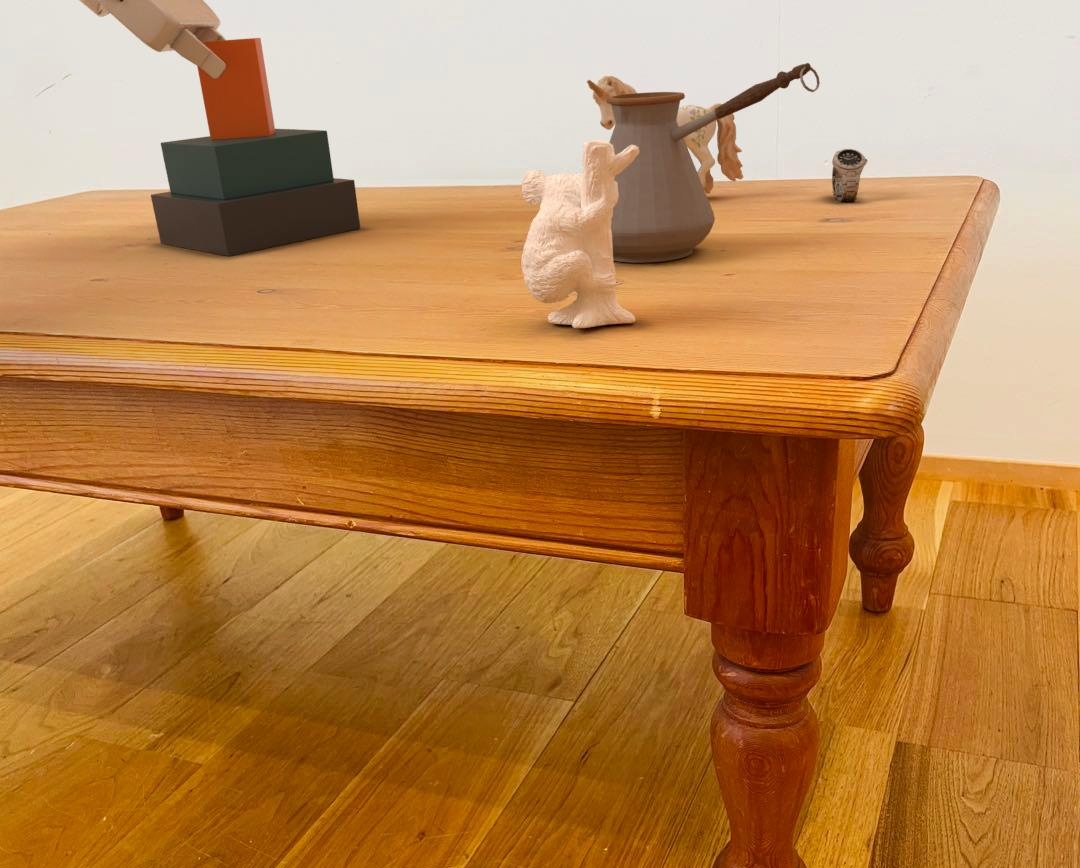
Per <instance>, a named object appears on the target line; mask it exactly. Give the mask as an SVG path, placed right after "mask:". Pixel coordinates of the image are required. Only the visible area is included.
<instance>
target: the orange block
mask: <svg viewBox="0 0 1080 868" xmlns="http://www.w3.org/2000/svg"><path fill="white" fill-rule="evenodd" d="M202 43H203V44H204V45H205V46H206V47H208V48H209V49H210V50H211V51H212V52H215V53H216V54H217V55H219V56H220V57H221V58H222V59H223V60H224V61H226V62H227V65H228V68H227V70H226V71H225V72H224V74H223V75H222V77H220V78H216V79H215V78H212V77H211V76H210V75H209V74H207V73H206V72H205V71H204V70H203V69H201V68H200V67H198V66H197V65H196V66H197V72H198V78H199V82H200V83H199V84H200V89H201V93H202V94H201V95H202V100H203V106H204V111H205V116H206V122H207V127H208V132H209V136H210V138H211V140H223V139H237V138H250V137H264V136H271V135H273V134H274V133H275V129H276V127H275V121H274V115H273V109H272V102H271V101H272V100H271V95H270V89H269V83H268V76H267V71H266V70H267V69H266V64H265V58H264V52H263V45H262V38H261V37H252V38H250V37H249V38H237V39H226V40H221V41H206V42H202Z"/></svg>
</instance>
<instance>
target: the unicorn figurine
mask: <svg viewBox="0 0 1080 868" xmlns="http://www.w3.org/2000/svg"><path fill="white" fill-rule="evenodd" d="M586 83H587V86H588V88H589V89H590V90H592V92H593V93H592V98H593V100H594V102H595V104H596V105H597V106H598V107H599V111H600V117H601V119H600V121H599V124H600V125H601V127H603V128H604V129H606V130H612V129H613V128H614V127H615V118H614V114H613V110H612V106H611V104H609V103H607V101H606V100H607V98H608V97H612V96H617V95H625V94H635V93H638V92H637V90H636V89H635V88H634V87H633V86H631V85H630V84H628V83H625V82H623V80H621V79H619V78H618V77H616V76H613V75H609V76H606V75H604V76H603V77H601V78H600V79H598V80H597V83H595V82H594V81H592V80H591V79H587V80H586ZM722 104H723V103H721V102H719V103H714V104H713V105H711V106H709V107H707V108H705V107H703V106H698V105H694V104H692V105H691V104H688V105H683V106H679V109H678V114H677V123H678V126H679V127H680V126H682V125H684V124H686V123H688V122H690V121H693V120H695V119H697V118H699V117H701V116H703V115H705V114H707V113H709V112H711V111H713V110H715V108H717V107H719V106H720V105H722ZM734 120H735V115H734V113H732V114H730V115H728V116H726V117H723V118H721V119H717V120H715V121H713V122H712V123H710V124H708V125H706V126H704V127H702V128H701V129H699V130H697V131H695V132H693V133H692V134H690V135H688V136H686V137H684V141H685V143H686V146H687V148H688V150H689V152H690V153H692V155H693V156H694V157H695V158H696V159H697V161H698V162H699V163H700V166H699V168H698V170H697V173H698V176H699V178H700V180H701V183H702V185H703V188H704V190H705V193H706V195H708V194H710V193H711V191H712V190H713V188H714V177H713V175H712V173H711V169H712V168H713V167H714V166H715V165H716V161H717V163H718V165H719V166H720V170H721V173H722V174H723V175H724V176H725V177H726V178H727V179H728V180H730V181H732V182H736V181H737V180H743V179H744V174H743V171H742V169H741V168H743V166H744V165H743V164H742V162H741V161H740V159H739V156H738V153H742V152H743V150H742V149H741V148H740V146H738V145H737V144H736V140H737V126H736V123H735V121H734ZM716 129H717V132H716ZM715 133H717V134H716V142H717V144H716V145H717V151H718V153H717V157H716V159H717V160H716V159H715V158H714V157H713V155H712V153H711V151H710V149H709V143H710V141H711V140H712V139H713V138H714V135H715Z"/></svg>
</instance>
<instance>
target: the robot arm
mask: <svg viewBox="0 0 1080 868" xmlns="http://www.w3.org/2000/svg"><path fill="white" fill-rule="evenodd" d="M78 1H79V2H81V3H82V4H83V5H84V6H85V7H87V8H88V9H89V10H90V11H91V12H92V13H94V14H95V15H96V16H97V17H99V18H104V17H106V16H108V15H111V16H113V18H115V19H116V20H117V21H118V22H119V23H120V24H121V25H123V26H124V27H125V28H126V29H127V30H128V31H129V32H130V33H132V34H133V35H134V36H135V37H136V38H137V39H138V40H139V41H140V42H142V43H143V44H144V45H146V46H147V47H149V48H150V49H151V50H153V51H155V52H157V53H162V52H163V53H164V52H172V51H174V52H176V53H177V54H178V55H179V56H180V57H182V58H184V59H185V60H187V61H189V62H190V63H192V64H193V65H194V66H198V67H200V68H201V69H203V70H204V71H205V72H206V73H207V74H209V75H210V76H211V77H212V78H215V79H216V78H220V77H222V75H223V74H224V72H225V71H226V70H227V68H228V65H227V62H226V61H224V60H223V59H222V58H221V57H220V56H219V55H217V54H216V53H215V52H212V51H211V50H210V49H209V48H208V47H206V46H205V45H204V44H203V43H202V42H206V41H221V40H227V39H226V38H225V37H224V36H223V34H221V33H220V32H219V31H218V29H219V27H220V25H221V20H220V18H219V16H218V15H217V14H216V13H215V11H214V10H213V9H212V8H211V7H210V6H209V5H208V4H207V3H206V1H205V0H78ZM198 67H197V68H198Z"/></svg>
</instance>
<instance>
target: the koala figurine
mask: <svg viewBox="0 0 1080 868" xmlns="http://www.w3.org/2000/svg"><path fill="white" fill-rule="evenodd" d="M609 142H610V141H608V140H605V139H598V140H588V141H586V142H583V144H582V159H581V161H582V162H581V164H582V173H566V172H565V173H564V172H563V173H555V174H551V175H548V174H547V173H545V172H544V171H542V170H539V169H538V170H537V169H536V170H535V169H534V170H533V169H532V170H529V171H527V172H526V173H525V174H524V175H523V177H522V181H521V194H522V195H523V196H522V197H523V199H524V201H525V202H526V203H527V204H530V205H531V206H538V205H539V204H540V207H539V211H538V212H537V213H536V215H535V216H534V218H533V220H532V221H531V223H530V225H529V230H528V232H527V236H526V240H525V242H524V245H523V251H522V252H523V253H522V255H521V259H520V261H521V270H522V275H523V279H524V283H525V286H526V289H527V291H528V292H529V294H531V297H533V298H534V299H535V300H537V301H539V302H541V303H544V304H555V303H558V302H562V301H565V300H566V299H568V298H569V297H570V294H571V293H572V292H575V293H576V294H577V295H576V299H575V300H574V301H573V302H571V303H569V304H568V305H565V306H564V307H562V308H560V309H558V310H555V311H552V312H550V313H549V314H548V316H547V321H548V323H550V324H553V325H564V326H565V325H566V326H571V327H572V328H573V329H586V328H587V329H588V328H594V327H600V326H607V325H617V324H618V325H619V324H621V325H622V324H632V323H635V322H636V317H635V315H634V314H633V313H632V312H631V311H629V310H627V309H625V308H624V307H621V305H620V304H619V302H618V299H617V297H616V286H617V280H616V268H615V267H616V266H615V264H614V263H615V262H614V260H613V246H612V231H611V218H612V216H613V207H614V206H615V205H616V204H617V201H618V197H619V193H618V183H617V182H616V181H614V179H615V176H616V175H617V174H619V173H620V172H622V171H623V170H624V169H625V168H626V167H627V166H628V165H629V164H630V163H631V162H633V160H634V159H635V157H636V156H637V155H638V154H639V148H638V147H637V146H635V145H630V146H628V147H627V148H626V149H624V150H623V151H622V152H621V153H619V154H617V155H615V153H614V148H613V145H612V144H610V143H609Z"/></svg>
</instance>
